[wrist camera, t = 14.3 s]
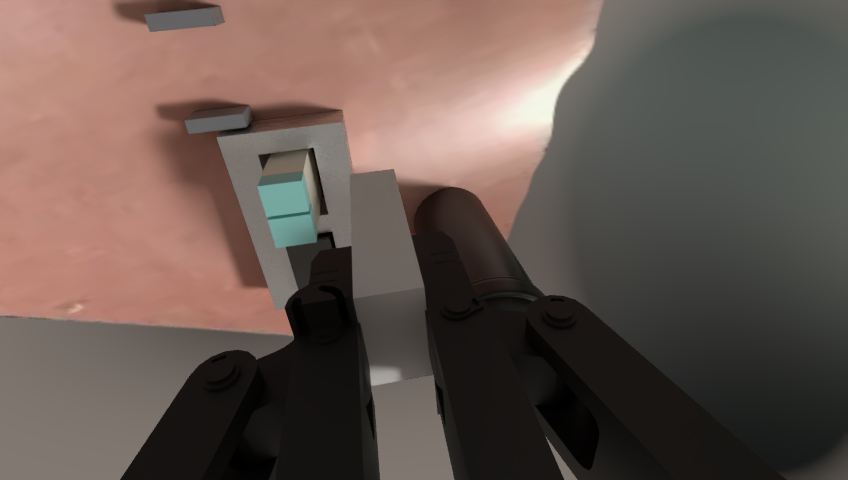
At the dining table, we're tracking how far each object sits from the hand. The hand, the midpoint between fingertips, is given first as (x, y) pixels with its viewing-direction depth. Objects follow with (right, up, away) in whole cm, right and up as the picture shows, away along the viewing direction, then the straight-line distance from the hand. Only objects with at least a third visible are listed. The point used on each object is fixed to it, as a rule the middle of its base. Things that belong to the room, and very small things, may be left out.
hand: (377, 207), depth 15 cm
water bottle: (+5, +1, +35) cm, 36 cm away
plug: (-11, +6, +29) cm, 32 cm away
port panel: (-11, +2, +31) cm, 33 cm away
